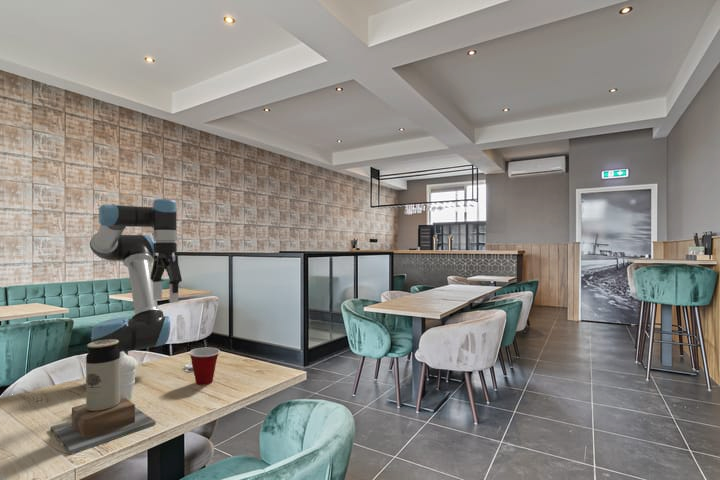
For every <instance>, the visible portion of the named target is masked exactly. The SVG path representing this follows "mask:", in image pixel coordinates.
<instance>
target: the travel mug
mask: <svg viewBox="0 0 720 480" xmlns="http://www.w3.org/2000/svg"><path fill="white" fill-rule="evenodd" d="M118 342H119V341H118V340H114V339H110V340H100V341H95V342H92V341H91V342H90V343H87V345H86V347H87V348H88V353H87V354H86V356H85V368H86V369H85V377H86V379H85V388H86V389H85V393H86V394H85V395H86V396H85V397H86V398H85V399H86V401H85V402H86V403H85V404H86V409H87V410H90V411H101V410H106V409H109V408H112V407H114V406H116V405H117V404H119V403H120V351H119V350H118V348H117V344H118Z"/></svg>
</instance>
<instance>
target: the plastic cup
mask: <svg viewBox="0 0 720 480" xmlns="http://www.w3.org/2000/svg"><path fill="white" fill-rule="evenodd" d="M220 353H221V350H220V349H218V348H215V347H198V348H194V349H191V350H190V351H189V356H190V361H192V362H191V364H192V365H193V369H192V371H194V372H193V376H194V380H195V384H196V385H197V386H207V385H210V384H211V383H213V381H214V375H215V371H216V364H217V359H218V356H219V354H220Z"/></svg>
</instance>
